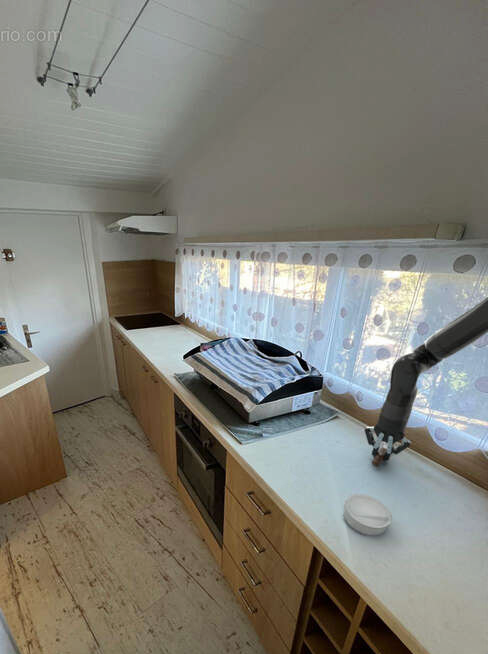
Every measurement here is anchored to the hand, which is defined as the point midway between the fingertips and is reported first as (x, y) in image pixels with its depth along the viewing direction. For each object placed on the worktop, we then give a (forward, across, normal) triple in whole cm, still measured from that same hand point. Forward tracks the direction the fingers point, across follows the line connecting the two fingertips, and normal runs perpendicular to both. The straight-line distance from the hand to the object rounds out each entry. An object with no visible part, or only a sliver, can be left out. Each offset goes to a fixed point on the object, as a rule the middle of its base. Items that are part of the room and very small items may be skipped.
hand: (379, 458), depth 103 cm
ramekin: (+3, -5, +29) cm, 30 cm away
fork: (0, 0, -3) cm, 3 cm away
